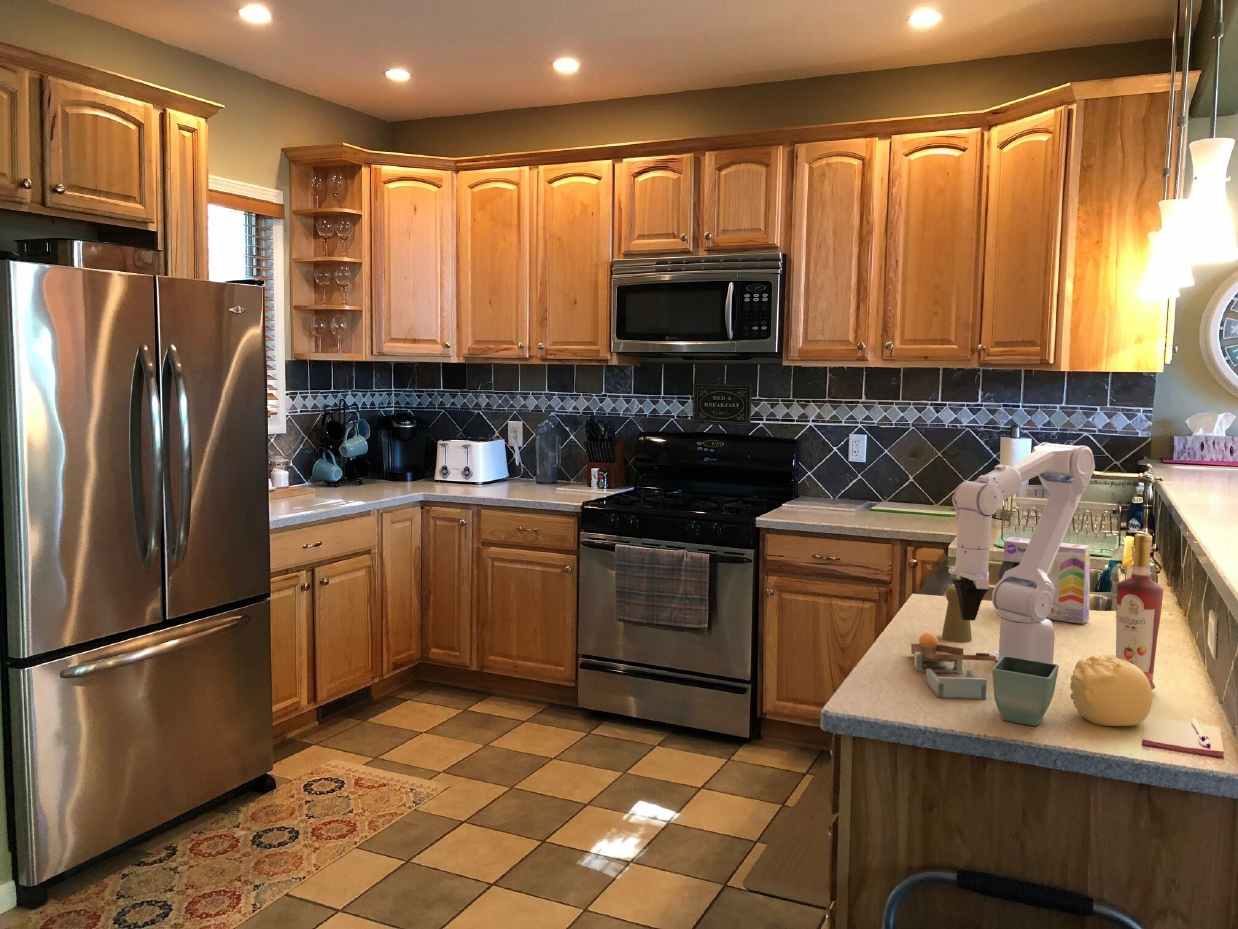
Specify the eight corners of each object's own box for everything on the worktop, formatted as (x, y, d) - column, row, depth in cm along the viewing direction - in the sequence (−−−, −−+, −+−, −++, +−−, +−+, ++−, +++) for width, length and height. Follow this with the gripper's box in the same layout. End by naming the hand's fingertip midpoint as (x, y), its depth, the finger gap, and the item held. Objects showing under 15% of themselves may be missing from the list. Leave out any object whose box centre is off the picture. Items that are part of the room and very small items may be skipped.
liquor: (1162, 692, 177) (1174, 536, 174) (1146, 700, 172) (1157, 540, 169) (1120, 681, 182) (1130, 530, 179) (1103, 689, 177) (1113, 534, 175)
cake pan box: (996, 611, 234) (1000, 537, 232) (1003, 608, 238) (1007, 535, 236) (1082, 626, 222) (1087, 548, 220) (1089, 622, 225) (1094, 545, 224)
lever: (969, 659, 196) (968, 645, 196) (996, 665, 180) (996, 649, 180) (910, 657, 197) (910, 643, 197) (932, 663, 180) (932, 647, 181)
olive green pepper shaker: (940, 640, 208) (943, 588, 207) (942, 633, 214) (945, 582, 213) (971, 643, 206) (973, 591, 205) (972, 636, 212) (975, 585, 211)
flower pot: (1047, 733, 155) (1050, 678, 155) (988, 722, 160) (991, 668, 159) (1056, 717, 163) (1059, 664, 162) (999, 707, 168) (1002, 655, 167)
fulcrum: (958, 669, 188) (959, 652, 188) (962, 673, 186) (963, 656, 185) (913, 667, 189) (914, 651, 188) (916, 671, 186) (917, 655, 186)
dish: (970, 683, 180) (971, 664, 179) (985, 699, 171) (986, 679, 171) (926, 682, 180) (926, 663, 180) (938, 697, 172) (939, 678, 171)
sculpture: (1063, 705, 169) (1067, 643, 168) (1141, 713, 165) (1146, 650, 164) (1073, 728, 158) (1077, 662, 157) (1157, 738, 155) (1162, 670, 153)
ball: (935, 650, 196) (934, 632, 196) (940, 651, 192) (939, 632, 193) (917, 650, 196) (916, 632, 197) (921, 650, 193) (921, 632, 193)
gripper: (940, 539, 190) (936, 609, 192) (962, 553, 176) (957, 628, 177) (977, 541, 190) (973, 611, 191) (1002, 554, 176) (997, 630, 177)
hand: (968, 619), depth 184 cm, fingers closed
